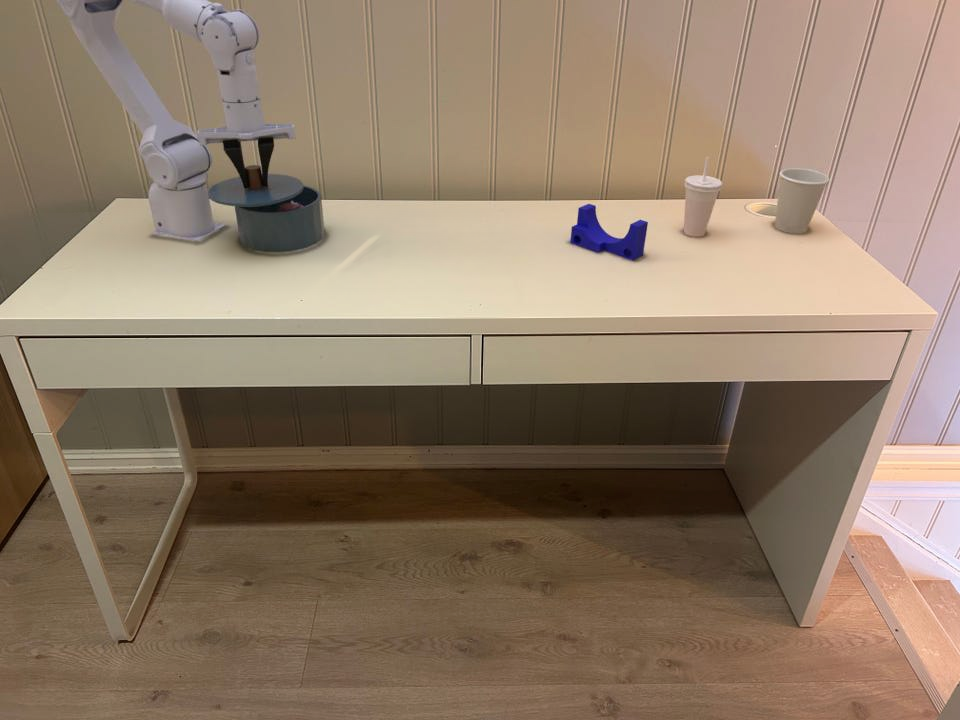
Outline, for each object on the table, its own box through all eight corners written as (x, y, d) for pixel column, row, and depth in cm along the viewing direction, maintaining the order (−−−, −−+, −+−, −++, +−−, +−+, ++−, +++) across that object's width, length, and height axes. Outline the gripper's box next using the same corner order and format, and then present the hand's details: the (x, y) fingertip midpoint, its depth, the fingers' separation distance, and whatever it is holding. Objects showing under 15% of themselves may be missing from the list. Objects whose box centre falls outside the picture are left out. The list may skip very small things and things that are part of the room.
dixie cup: (815, 239, 132) (830, 185, 126) (766, 232, 134) (779, 178, 129) (814, 223, 138) (828, 171, 133) (767, 216, 141) (780, 165, 135)
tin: (223, 248, 123) (216, 205, 119) (268, 219, 135) (263, 179, 131) (298, 260, 120) (293, 217, 116) (338, 229, 131) (335, 189, 127)
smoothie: (673, 236, 131) (686, 158, 124) (679, 224, 137) (692, 149, 129) (709, 241, 129) (725, 163, 122) (714, 229, 135) (729, 153, 127)
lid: (189, 204, 115) (183, 176, 113) (244, 176, 128) (239, 150, 125) (272, 214, 111) (268, 186, 109) (320, 184, 124) (317, 158, 121)
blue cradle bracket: (570, 242, 128) (573, 210, 125) (585, 235, 131) (588, 203, 128) (628, 263, 121) (633, 229, 118) (642, 255, 124) (648, 222, 121)
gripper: (189, 107, 107) (207, 197, 114) (291, 101, 110) (302, 189, 117) (192, 97, 113) (210, 183, 120) (289, 92, 116) (300, 176, 123)
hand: (255, 185), depth 119 cm, fingers closed on lid, 2 cm apart
